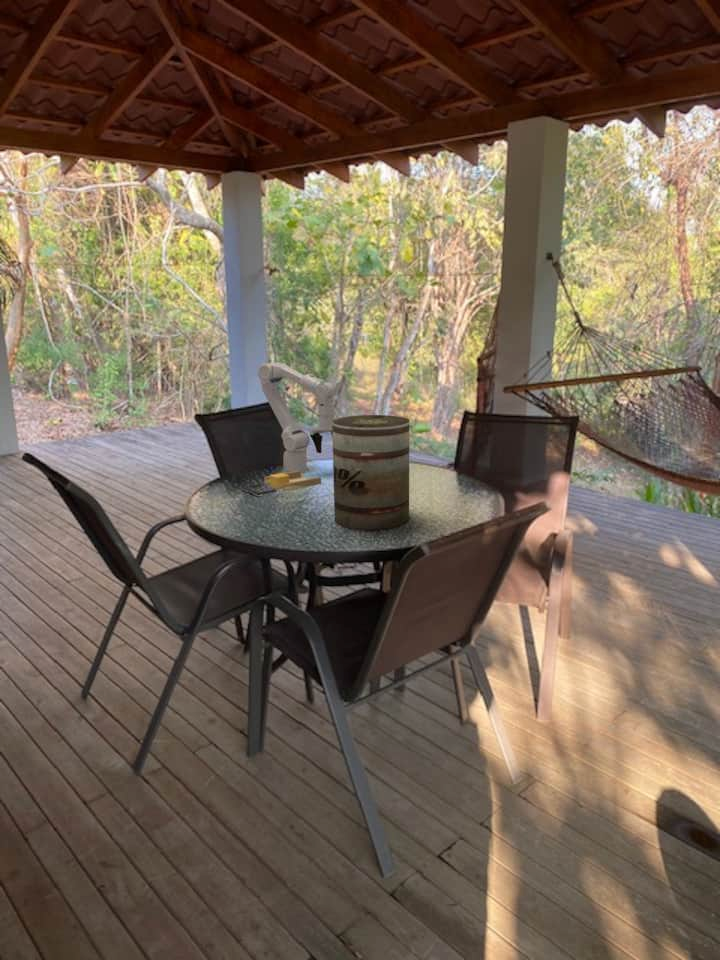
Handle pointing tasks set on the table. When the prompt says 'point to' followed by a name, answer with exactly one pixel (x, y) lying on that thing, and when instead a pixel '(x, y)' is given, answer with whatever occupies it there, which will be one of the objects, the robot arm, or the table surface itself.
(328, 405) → the robot arm
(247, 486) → the pit tray
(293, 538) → the table surface
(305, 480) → the channel
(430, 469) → the table surface
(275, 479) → the block
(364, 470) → the barrel
